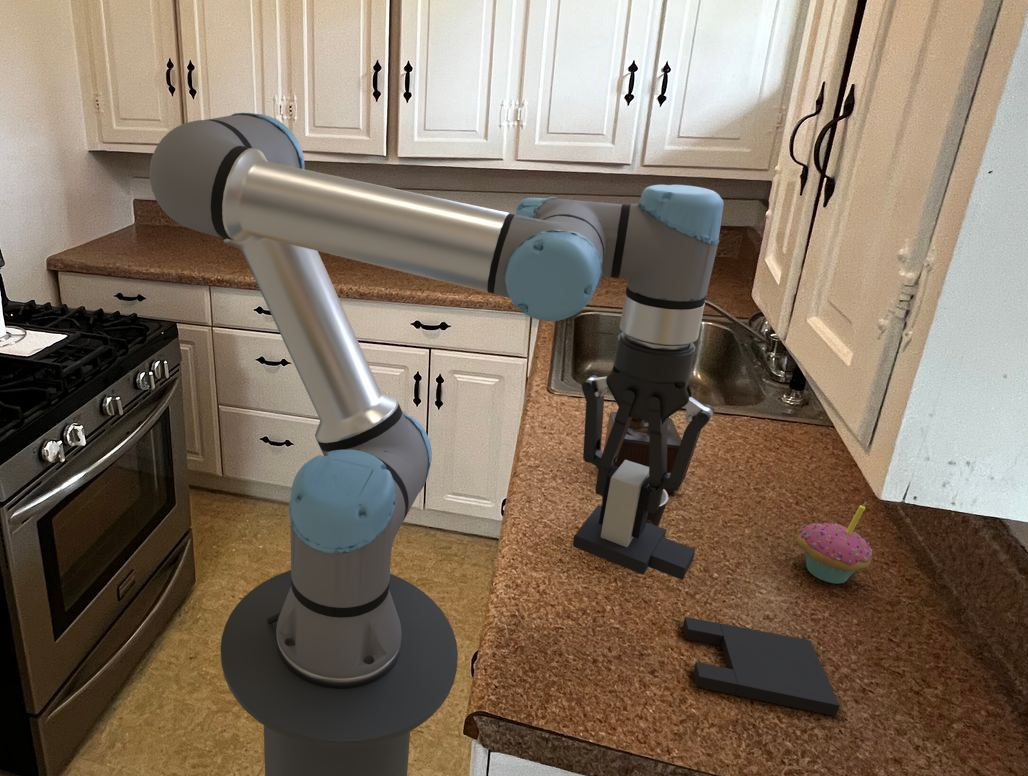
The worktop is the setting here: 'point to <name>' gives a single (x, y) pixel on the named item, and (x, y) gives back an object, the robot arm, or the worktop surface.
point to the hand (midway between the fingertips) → (621, 525)
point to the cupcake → (834, 549)
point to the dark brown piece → (644, 443)
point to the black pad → (763, 667)
